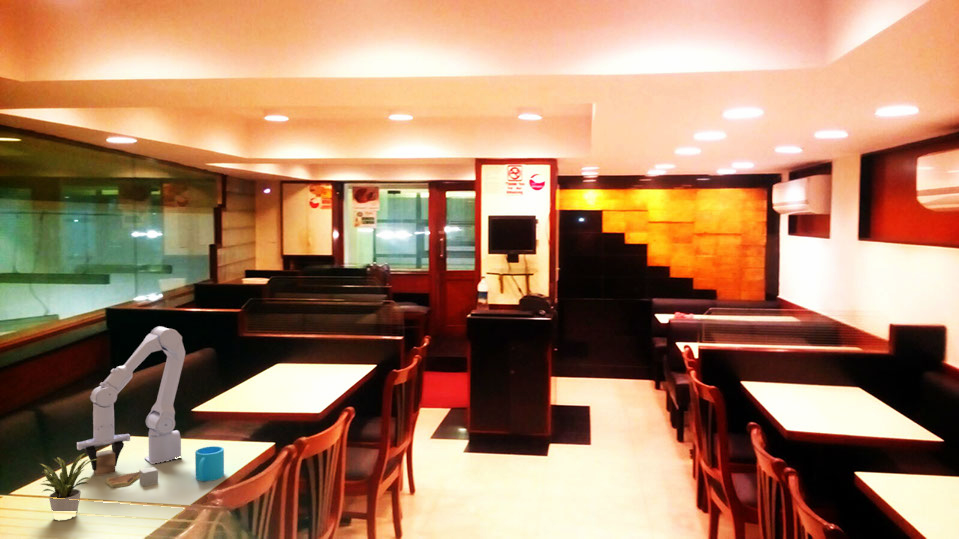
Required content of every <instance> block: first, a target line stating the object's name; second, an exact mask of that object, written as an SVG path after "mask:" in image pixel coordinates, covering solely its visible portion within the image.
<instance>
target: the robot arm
mask: <svg viewBox="0 0 959 539" xmlns="http://www.w3.org/2000/svg"><path fill="white" fill-rule="evenodd" d="M160 351H163V353H164V354H165V355H166V360H165V361H166V362H165V366H164V369H163V373H162V377H161V380H160V381H161V382H160V385H159V388H158V389H159V390H158V393H157V397H156V398H157V399H156V401H155V403H154V404H153V406H152V407H151V409H150V412H149V413H148V415H147V416H146V419H145V425H146V427H147V428H149V430H148V456H145V457H144V460H146V461H147V462H148V461H149V462H150V463H149V462H148V463H149V464H151V465H155V463H157V464H161V463H164V462H163V461H166V462H168V461H167V460H171V461H173V460H172V459H175V457H176V458H177V457H179V456H181V457H182V438H181V437H182V436H181V434H180V433H181V432H180V431H179V430H177V429H176V430H174V429H175V428H176V427H175V426H176V420H175V415H176V411H175V407H174V404H175V403H174V402H175V398H176V395H177V391H178V386H179V382H180V378H181V374H182V370H183V366H184V362H185V357H186V350H185V347H184V343H183V336H182V335H181V334H180V333H179V332H178V330H176V329H173V328H167V327H165V326H162V325H161V326H160V325H159V326H156V327H154V328H153V329H151V331H150V333H148V334H147V335H146V336H145V338H143V341H142V342H141V343H140V344H139V346H138V347H137V348H136V349H135V350H134V352H133V353H132V355H131V356H130V357H129V358H128V359H127V360H126V362H125V363H124V364H123V365H119V366H116V368H112V369H111V370H110V374H109V375H108V376H107V377H106V378H105V379H104V381H103V382H102V381H101V382H100V383H99V386H98V387H95V388H94V389H93V390H92V391H91V395H89V398H90V399H89V400H90V402H92V403H93V404H92V406H93V408H92V409H93V411H92V421H93V422H92V424H93V425H92V426H93V429H92V431H93V437H92V438H90V439H87V440H83V441H77V442H76V449H77V450H78V451H81V450H84V451H85V452H86V453H85V454H87V456H88V460H89V461H90V460H93V459H96V452H98V450H96V447H100V446H106V445H111V450H112V451H113V452H114V453H115V467H117V464H118V460H119V456H120V454H121V452H122V451H123V448H124V446H125V444H124V442H131V435H130V434H129V433H125V434H123V433H122V434H115V409H114V408H115V407H114V406H115V405H114V404H115V403H116V401H117V399H118V395H119V393H120V392H121V391H122V390H123V389H124V388H125V386H127V384H128V383H129V382H130V381H131V380H132V378H133V377H134V376H133V372H134V371H135V369H137V368H138V366H140V365H141V364H142V362H144V361H145V360H146V358H147V357H149V355H151V353H155V352H160ZM160 462H161V463H160ZM90 464H91V470H92V471H94V470H96V460H93V461H91V462H90Z"/></svg>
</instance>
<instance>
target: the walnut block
mask: <svg viewBox="0 0 959 539" xmlns="http://www.w3.org/2000/svg"><path fill="white" fill-rule="evenodd" d="M96 459H97V460H96V470H93V473H94V474H95V475H96V476H97V477H99V476H104V475H110V474H114V473H116V466H115V453H114V452H113V451H112V449H108V450H102V451H97V452H96Z"/></svg>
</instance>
